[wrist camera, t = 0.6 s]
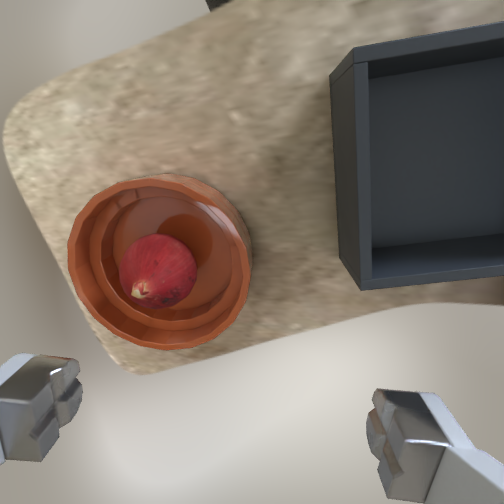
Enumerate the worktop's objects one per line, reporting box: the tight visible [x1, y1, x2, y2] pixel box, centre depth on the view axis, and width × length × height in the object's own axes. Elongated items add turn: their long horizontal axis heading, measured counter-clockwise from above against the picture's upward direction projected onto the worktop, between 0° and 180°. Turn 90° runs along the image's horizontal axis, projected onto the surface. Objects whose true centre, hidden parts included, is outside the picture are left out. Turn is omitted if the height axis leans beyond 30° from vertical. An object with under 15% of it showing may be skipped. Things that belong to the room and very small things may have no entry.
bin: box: [329, 21, 504, 291], centre depth 21 cm, size 15×15×7 cm
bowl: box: [67, 173, 253, 350], centre depth 26 cm, size 14×14×4 cm
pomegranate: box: [119, 233, 197, 309], centre depth 24 cm, size 6×6×8 cm
